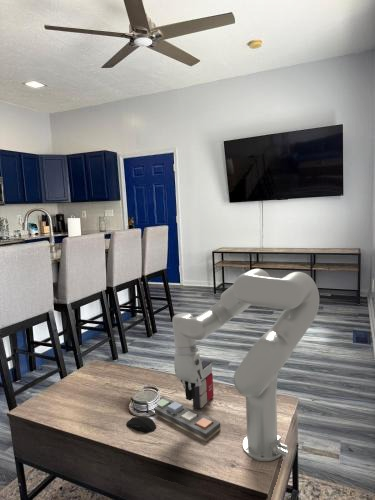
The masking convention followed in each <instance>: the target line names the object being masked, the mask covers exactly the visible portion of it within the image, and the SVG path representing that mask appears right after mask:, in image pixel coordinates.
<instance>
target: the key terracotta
mask: <svg viewBox="0 0 375 500" xmlns="http://www.w3.org/2000/svg"><path fill="white" fill-rule="evenodd" d="M211 425H212V421H210V420H207V419H205V418H202V419H201V420H199V421H198V422H197V423H196V426H198V427H200V428H202V429H204V430H206V429H207V428H208V427H210V426H211Z"/></svg>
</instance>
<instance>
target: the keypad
mask: <svg viewBox="0 0 375 500" xmlns="http://www.w3.org/2000/svg"><path fill="white" fill-rule="evenodd" d="M159 398H160V400H161V399H164V400H166V401H169V402H170V404H172V403H173V402H175V401H174V400H172V399H169V398H167V397H165V396H161V397H159ZM170 404H169V405H170ZM154 410H155V413H156V414H155V416H158V417H160V418H161V419H163V420H165V421H167V422H169V423H171V424H172V425H174V426H176V427H178V428H180V429H182V430H184V431H185V432H187V433H190V434H192V435H193V436H195V437H196V438H197V437H198V438H199V439H200V440H203V441H206V442H207V441H208V440H210V439H211V438H212V437H213V436H214V435H216V434H217V433H218V432H219V431H220V430H222V429H221V422H220V421H218V420H216V419H214V418H212V417H209V416H207V415H205V414H202V413H200V412H198V411H196V410H194V409H192V408H189V407H187V406H185V405H183V410H182V411H181V412H179V413H177V414H176V415H175V414H173V413H171V412H168V407H167V406H166V407H164V408H163V409H161V408H159V407H155V408H154ZM188 411H190V412H192V413H194V414H197V418H195V419H194V420H192V421H191V422H188V421H186V420H184V419H182V418H181V416H182V415H183V414H185V413H186V412H188ZM202 418H205V419H207V420H210V421H212V425H211V426H210V427H208V428H207V429H206V430H204V429H202V428H200V427H198V426H196V423H197V422H198V421H199V420H201V419H202Z"/></svg>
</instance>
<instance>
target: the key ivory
mask: <svg viewBox="0 0 375 500" xmlns="http://www.w3.org/2000/svg"><path fill="white" fill-rule="evenodd" d="M181 418H182V419H184V420H186V421H188V422H191V421H192V420H194V419H195V418H197V414H194V413H192V412H190V411H188V412H186V413H185V414H183V415H182V416H181Z"/></svg>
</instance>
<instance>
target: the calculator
mask: <svg viewBox="0 0 375 500" xmlns="http://www.w3.org/2000/svg"><path fill="white" fill-rule="evenodd" d="M201 363H202V369H203V379H200V380H201V383H202V385H200V386H196V387H195V398H193V399H192V407H193V408H194V409H198V410H201V409H202V408H203V407H204V406H206V404H208V402H209V401H211V399H212V398H214V379H213V378H214V376H213V364H212V361H208V360H201Z"/></svg>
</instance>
